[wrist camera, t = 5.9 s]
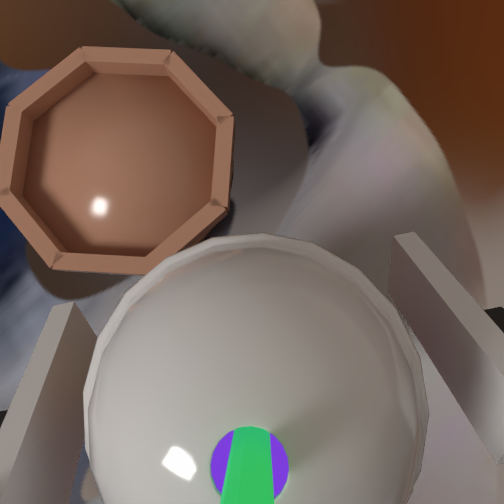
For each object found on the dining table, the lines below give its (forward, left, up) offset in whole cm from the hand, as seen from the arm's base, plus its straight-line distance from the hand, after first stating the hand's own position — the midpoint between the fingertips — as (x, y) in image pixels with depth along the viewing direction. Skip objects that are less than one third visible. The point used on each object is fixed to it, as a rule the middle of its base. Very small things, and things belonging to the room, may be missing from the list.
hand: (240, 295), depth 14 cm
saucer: (-12, 0, -9) cm, 15 cm away
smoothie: (+2, -1, -9) cm, 10 cm away
